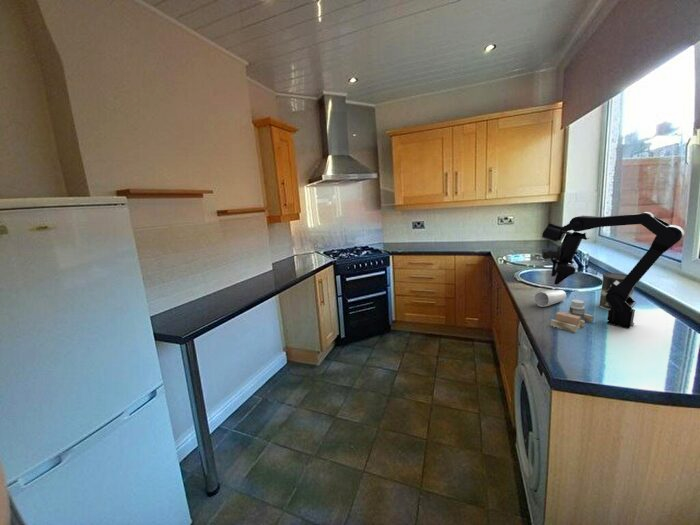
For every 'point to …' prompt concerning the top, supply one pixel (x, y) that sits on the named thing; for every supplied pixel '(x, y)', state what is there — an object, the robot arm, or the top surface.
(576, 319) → the upper offcut
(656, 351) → the top surface
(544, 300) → the drinking glass
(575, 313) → the pill bottle
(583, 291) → the top surface
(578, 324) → the lower offcut
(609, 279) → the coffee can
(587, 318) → the offcut rack
